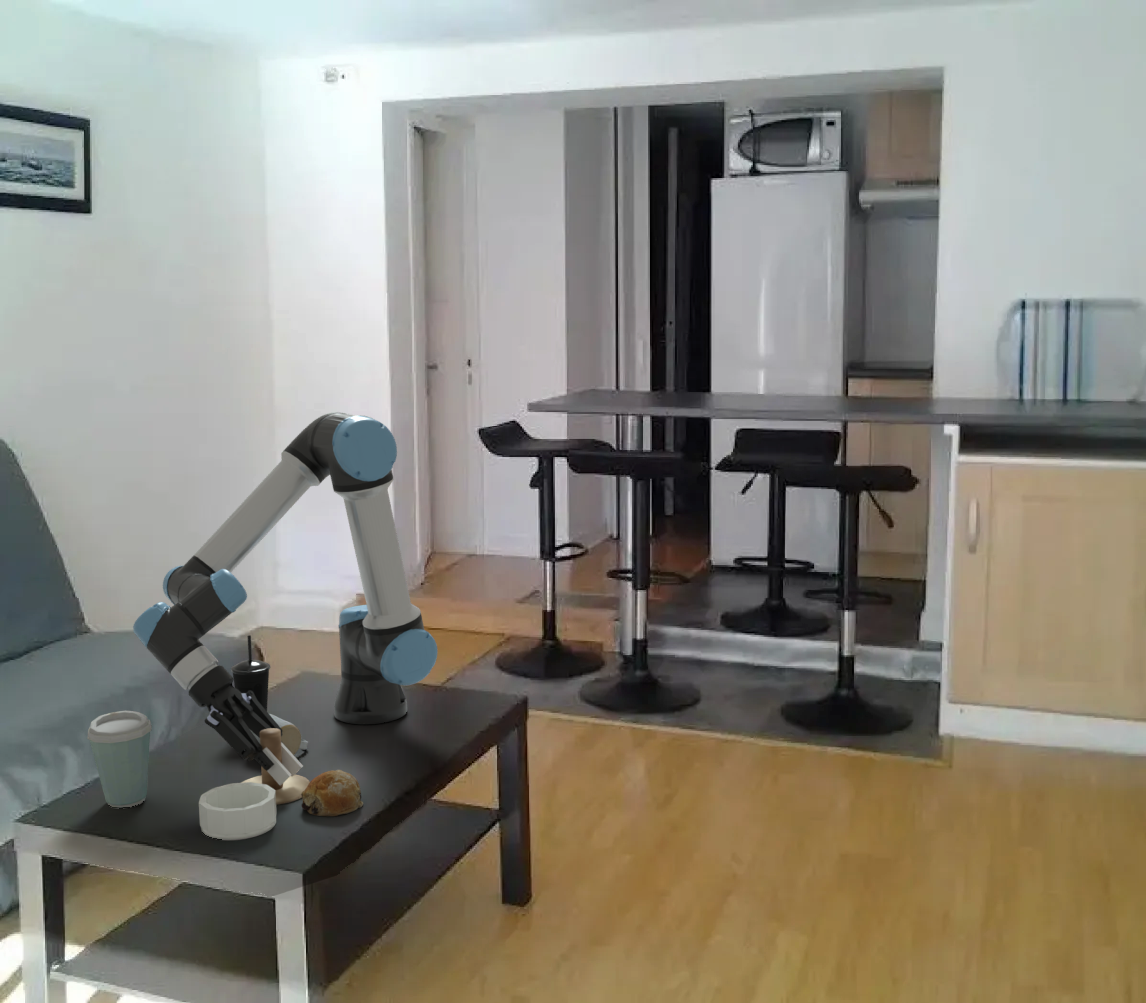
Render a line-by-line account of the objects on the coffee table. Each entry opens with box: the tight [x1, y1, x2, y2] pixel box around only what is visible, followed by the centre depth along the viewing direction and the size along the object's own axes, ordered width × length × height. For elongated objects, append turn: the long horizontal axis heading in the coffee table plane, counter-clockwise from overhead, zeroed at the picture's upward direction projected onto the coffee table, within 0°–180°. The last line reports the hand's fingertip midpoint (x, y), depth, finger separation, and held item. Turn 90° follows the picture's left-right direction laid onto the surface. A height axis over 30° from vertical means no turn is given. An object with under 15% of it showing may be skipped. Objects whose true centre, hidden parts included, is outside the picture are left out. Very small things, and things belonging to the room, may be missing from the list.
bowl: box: [198, 782, 277, 841], centre depth 210 cm, size 12×12×5 cm
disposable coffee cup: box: [86, 710, 153, 808], centre depth 219 cm, size 11×11×15 cm
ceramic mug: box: [250, 713, 309, 756], centre depth 242 cm, size 11×8×8 cm
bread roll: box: [301, 769, 364, 817], centre depth 217 cm, size 10×10×8 cm
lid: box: [240, 728, 311, 806], centre depth 224 cm, size 13×13×11 cm
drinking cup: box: [230, 635, 271, 715], centre depth 254 cm, size 8×8×20 cm
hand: (291, 775), depth 223 cm, fingers closed on lid, 4 cm apart
